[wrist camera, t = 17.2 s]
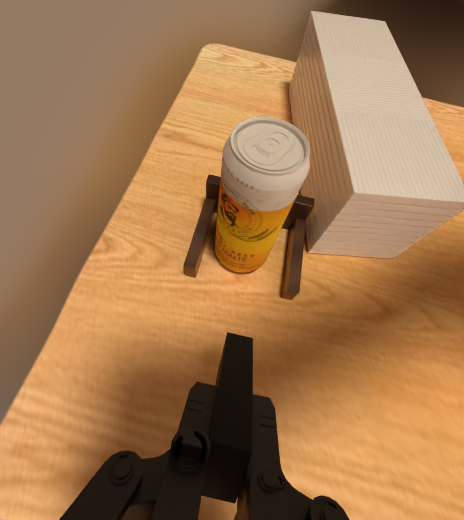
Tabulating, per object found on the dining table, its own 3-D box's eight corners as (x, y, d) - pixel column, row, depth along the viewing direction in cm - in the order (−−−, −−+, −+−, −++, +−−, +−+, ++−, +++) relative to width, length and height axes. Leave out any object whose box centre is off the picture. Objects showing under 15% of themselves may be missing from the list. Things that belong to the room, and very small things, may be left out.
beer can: (203, 249, 30) (204, 136, 17) (240, 220, 32) (267, 101, 19) (241, 286, 29) (275, 194, 15) (276, 253, 31) (334, 148, 17)
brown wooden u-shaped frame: (291, 300, 28) (308, 283, 24) (185, 275, 28) (181, 253, 24) (299, 224, 33) (314, 198, 29) (208, 203, 33) (208, 173, 29)
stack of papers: (392, 259, 32) (473, 202, 22) (308, 253, 31) (354, 192, 22) (347, 97, 46) (385, 21, 37) (288, 90, 46) (311, 10, 36)
